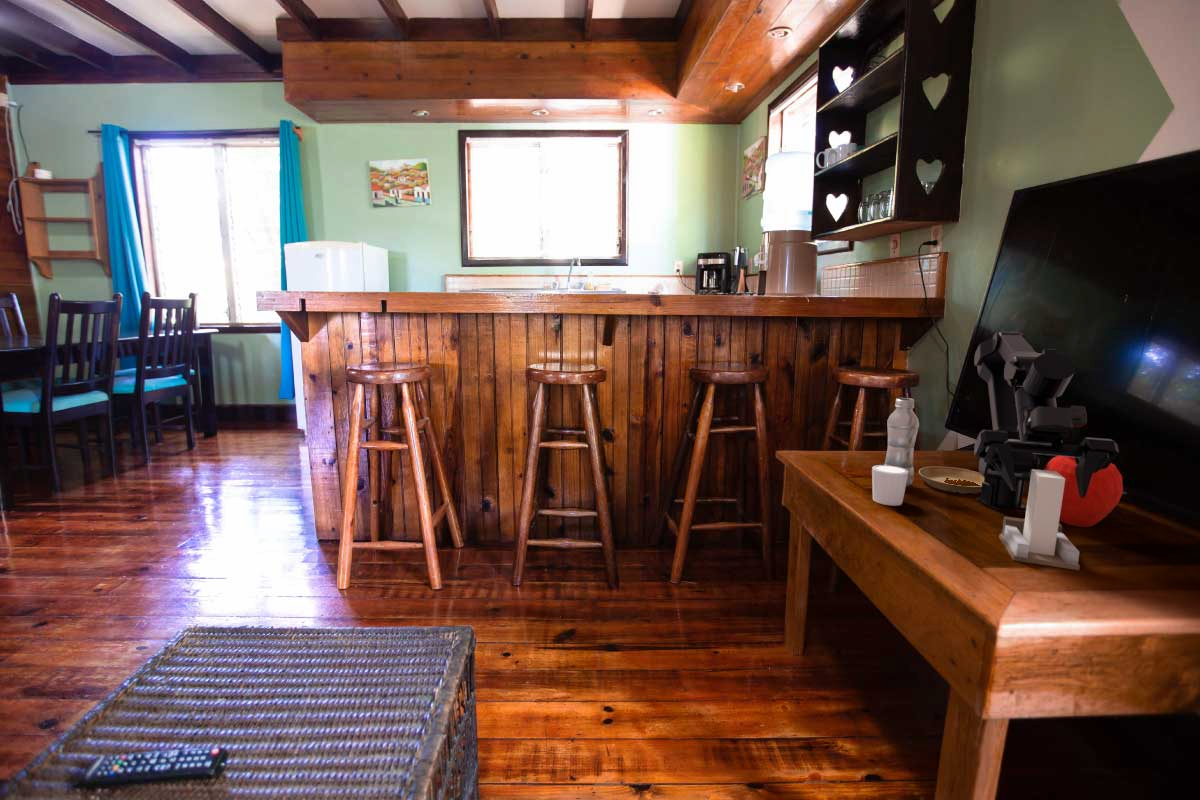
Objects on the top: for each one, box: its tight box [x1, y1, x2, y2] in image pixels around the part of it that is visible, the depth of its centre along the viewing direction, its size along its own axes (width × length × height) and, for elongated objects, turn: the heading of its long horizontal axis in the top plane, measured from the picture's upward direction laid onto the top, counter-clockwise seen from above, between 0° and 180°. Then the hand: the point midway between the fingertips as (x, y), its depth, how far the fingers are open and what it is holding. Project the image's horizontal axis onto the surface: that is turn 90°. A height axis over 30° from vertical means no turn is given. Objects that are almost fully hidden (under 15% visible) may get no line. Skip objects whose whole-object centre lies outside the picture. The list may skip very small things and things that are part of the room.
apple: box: [1043, 456, 1124, 528], centre depth 108 cm, size 12×12×13 cm
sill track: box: [998, 516, 1081, 571], centre depth 96 cm, size 10×9×4 cm
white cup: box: [871, 464, 909, 507], centre depth 120 cm, size 7×7×7 cm
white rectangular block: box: [1023, 469, 1065, 556], centre depth 95 cm, size 4×3×13 cm
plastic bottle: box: [883, 397, 920, 487], centre depth 130 cm, size 6×7×20 cm
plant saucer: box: [918, 466, 984, 494], centre depth 131 cm, size 15×15×3 cm
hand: (1048, 493), depth 93 cm, fingers open, 9 cm apart
